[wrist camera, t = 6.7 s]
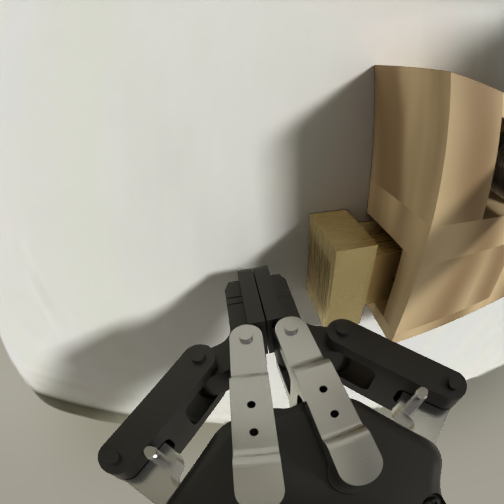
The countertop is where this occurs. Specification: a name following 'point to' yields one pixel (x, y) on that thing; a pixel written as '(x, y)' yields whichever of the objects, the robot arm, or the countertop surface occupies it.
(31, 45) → the countertop surface
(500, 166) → the cylinder
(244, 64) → the countertop surface
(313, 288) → the block
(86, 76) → the countertop surface
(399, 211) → the socket block
